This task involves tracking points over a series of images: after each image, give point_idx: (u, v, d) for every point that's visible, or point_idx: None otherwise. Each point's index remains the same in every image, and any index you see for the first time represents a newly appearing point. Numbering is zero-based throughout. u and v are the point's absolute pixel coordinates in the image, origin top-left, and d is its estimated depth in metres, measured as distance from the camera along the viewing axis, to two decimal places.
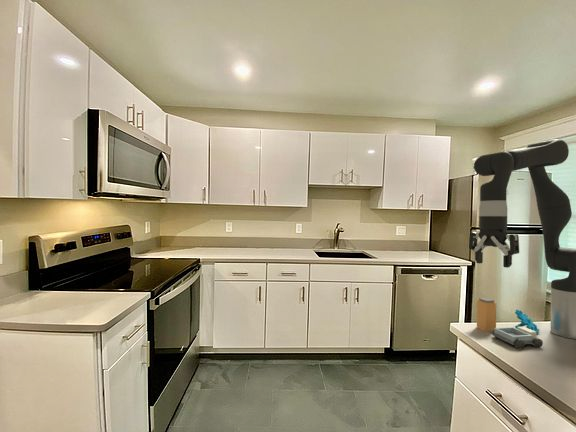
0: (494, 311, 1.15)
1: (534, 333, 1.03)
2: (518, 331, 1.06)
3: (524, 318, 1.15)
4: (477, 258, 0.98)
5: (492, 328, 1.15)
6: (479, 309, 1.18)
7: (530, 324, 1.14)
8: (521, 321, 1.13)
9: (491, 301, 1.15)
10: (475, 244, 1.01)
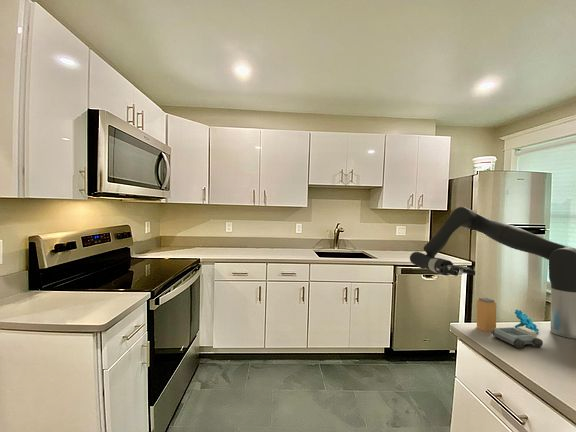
0: (494, 311, 1.15)
1: (534, 333, 1.03)
2: (518, 331, 1.06)
3: (523, 318, 1.16)
4: (471, 274, 1.30)
5: (492, 328, 1.15)
6: (479, 309, 1.18)
7: (529, 324, 1.14)
8: (520, 321, 1.14)
9: (491, 301, 1.15)
10: None
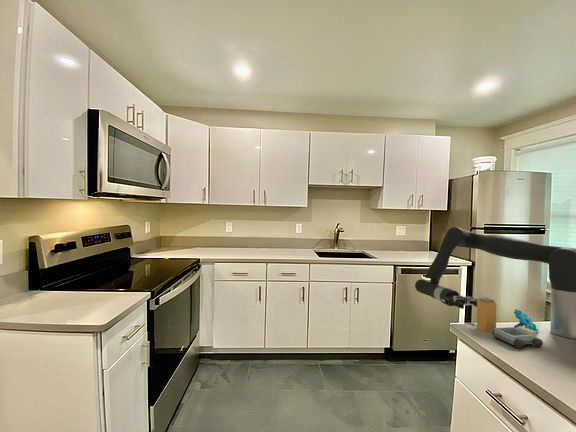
0: (494, 311, 1.15)
1: (534, 333, 1.03)
2: (518, 331, 1.06)
3: (523, 318, 1.16)
4: None
5: (492, 328, 1.15)
6: (479, 309, 1.18)
7: (529, 324, 1.14)
8: (519, 320, 1.14)
9: (491, 301, 1.15)
10: None
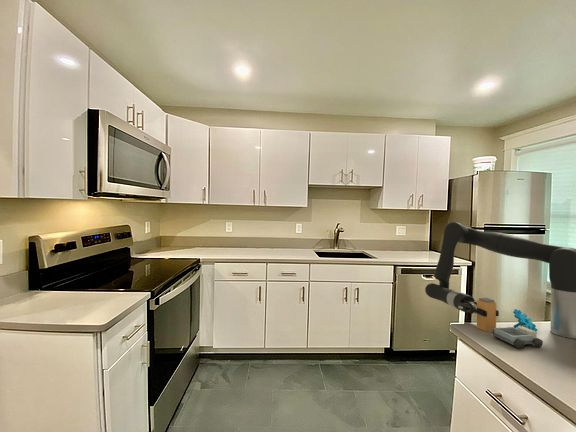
0: (494, 311, 1.15)
1: (534, 333, 1.03)
2: (518, 331, 1.06)
3: (522, 317, 1.16)
4: None
5: (492, 328, 1.15)
6: None
7: (528, 323, 1.15)
8: (518, 320, 1.14)
9: (491, 301, 1.15)
10: None
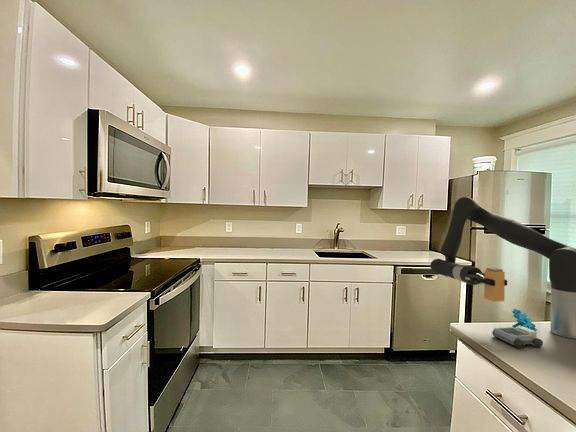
0: (503, 280, 1.11)
1: (534, 333, 1.03)
2: (518, 331, 1.06)
3: (521, 317, 1.16)
4: None
5: (500, 298, 1.11)
6: None
7: (527, 323, 1.15)
8: (517, 320, 1.15)
9: (499, 270, 1.12)
10: None
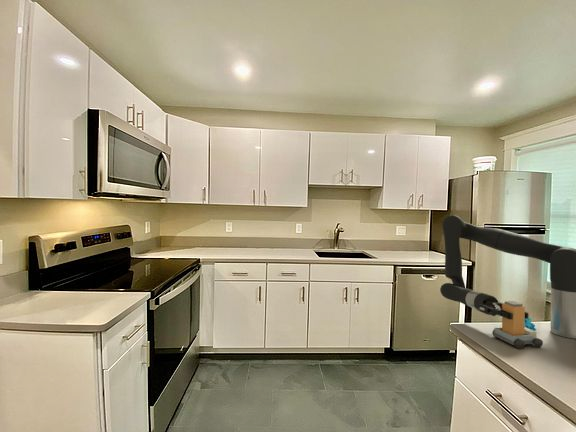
0: (523, 316, 1.03)
1: (534, 333, 1.03)
2: None
3: None
4: None
5: None
6: None
7: (526, 323, 1.15)
8: None
9: (519, 305, 1.03)
10: None
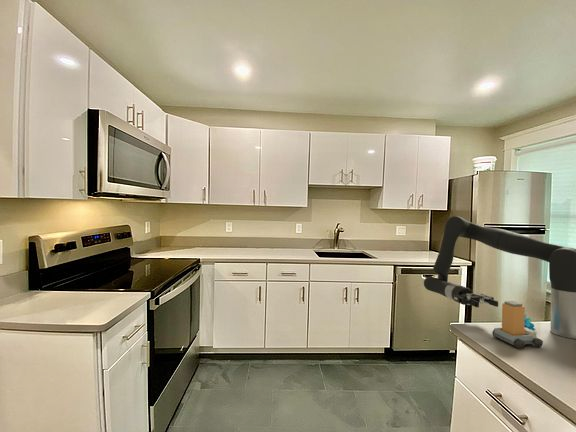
0: (523, 316, 1.03)
1: (534, 333, 1.03)
2: None
3: None
4: (493, 305, 1.18)
5: None
6: (505, 314, 1.05)
7: (525, 323, 1.16)
8: None
9: (519, 305, 1.03)
10: (489, 297, 1.23)
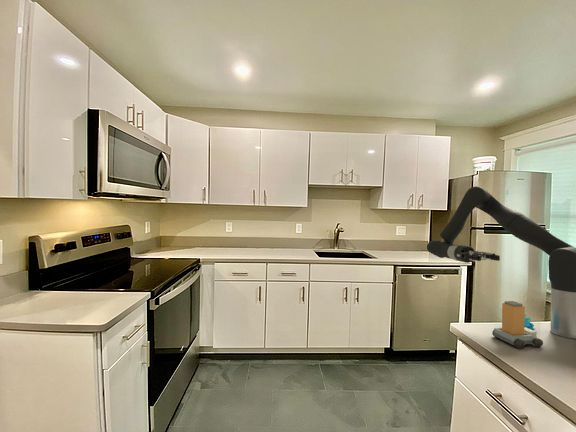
0: (523, 316, 1.03)
1: (534, 333, 1.03)
2: None
3: None
4: None
5: None
6: (505, 314, 1.05)
7: None
8: None
9: (519, 305, 1.03)
10: None
